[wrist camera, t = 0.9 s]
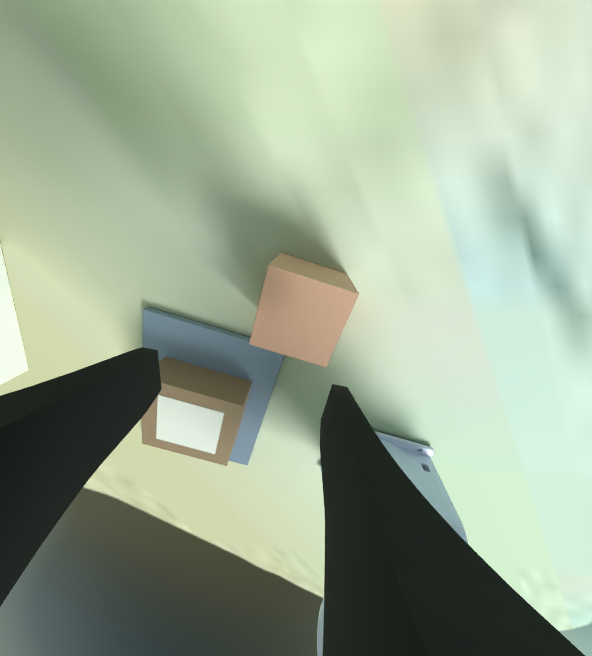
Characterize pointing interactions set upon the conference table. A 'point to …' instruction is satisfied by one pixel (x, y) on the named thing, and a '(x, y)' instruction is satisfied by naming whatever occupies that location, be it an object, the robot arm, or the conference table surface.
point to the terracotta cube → (302, 309)
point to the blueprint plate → (218, 359)
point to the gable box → (9, 331)
